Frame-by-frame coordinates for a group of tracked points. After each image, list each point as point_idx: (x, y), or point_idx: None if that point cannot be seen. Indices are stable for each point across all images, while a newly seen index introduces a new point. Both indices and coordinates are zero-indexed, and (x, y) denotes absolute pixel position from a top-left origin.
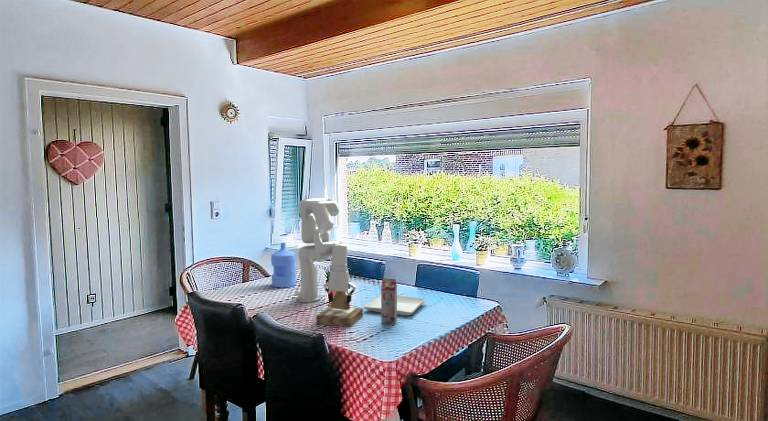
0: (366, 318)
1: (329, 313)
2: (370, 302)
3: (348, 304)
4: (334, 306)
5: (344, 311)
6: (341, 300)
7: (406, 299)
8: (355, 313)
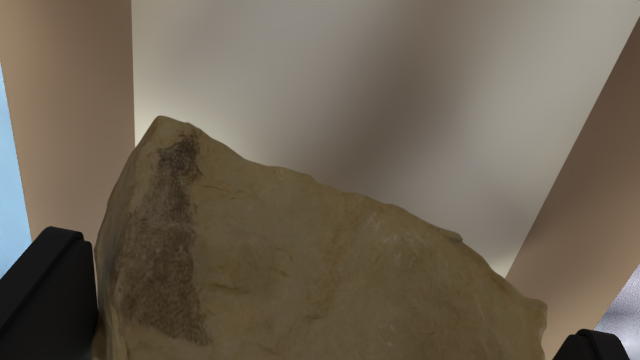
0: (13, 180)
1: (541, 58)
2: None
3: (103, 243)
4: (453, 262)
5: None
6: (271, 354)
7: None
8: (29, 103)
